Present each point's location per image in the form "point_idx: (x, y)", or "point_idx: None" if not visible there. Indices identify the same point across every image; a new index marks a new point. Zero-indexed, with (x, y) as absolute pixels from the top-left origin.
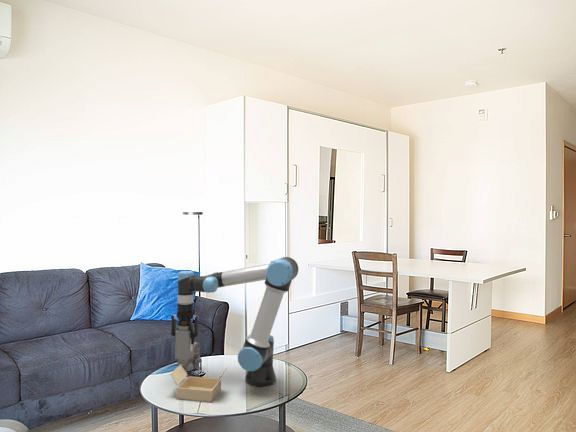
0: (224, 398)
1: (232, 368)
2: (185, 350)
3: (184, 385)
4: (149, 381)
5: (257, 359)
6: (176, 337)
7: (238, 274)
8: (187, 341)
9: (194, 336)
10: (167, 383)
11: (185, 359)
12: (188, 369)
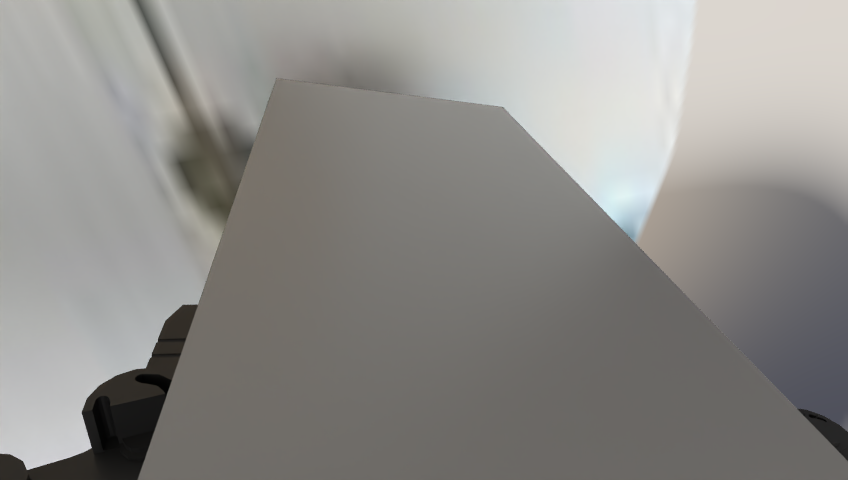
0: None
1: (70, 438)
2: (328, 134)
3: None
4: (673, 37)
5: None
6: (665, 307)
7: None
8: (263, 227)
9: (66, 477)
10: (502, 12)
11: (325, 84)
12: None
